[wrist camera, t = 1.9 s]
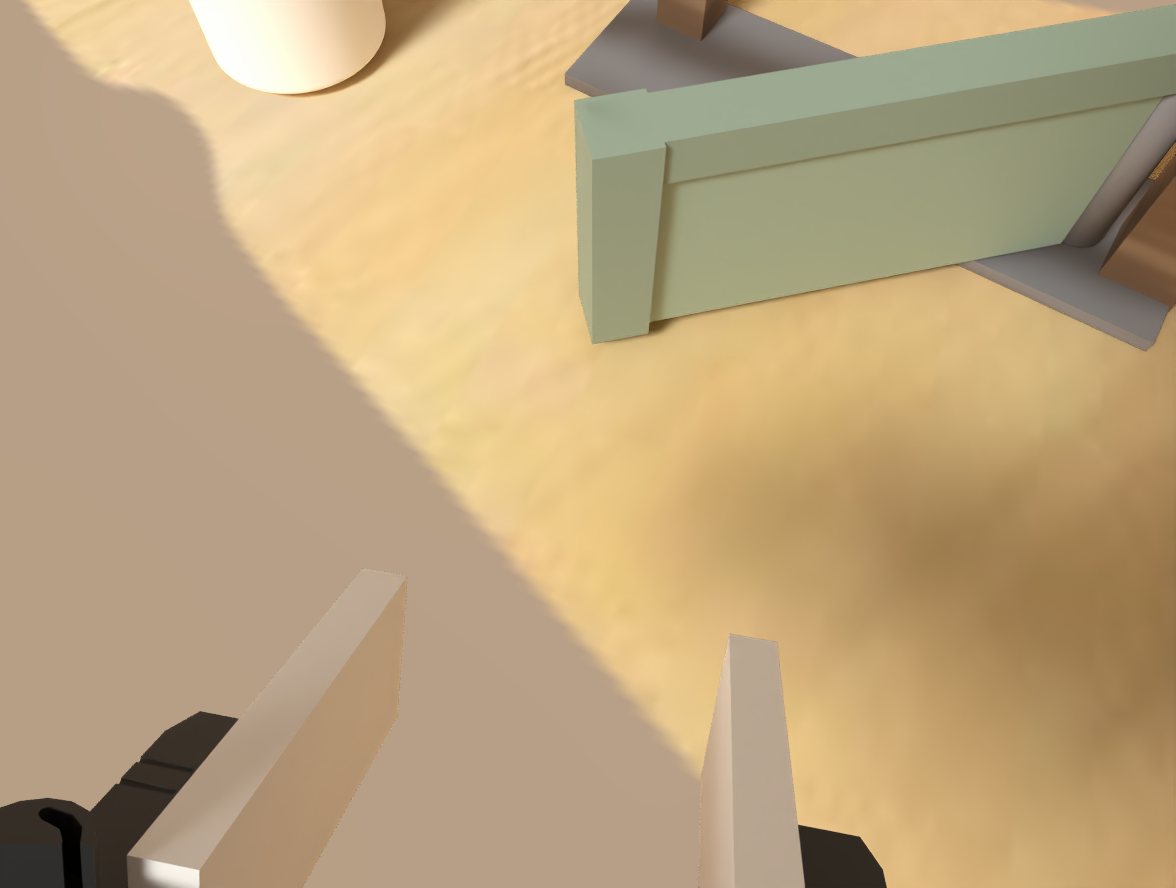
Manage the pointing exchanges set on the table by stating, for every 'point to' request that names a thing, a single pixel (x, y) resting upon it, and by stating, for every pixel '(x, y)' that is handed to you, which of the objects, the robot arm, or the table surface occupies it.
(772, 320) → the table surface
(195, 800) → the robot arm
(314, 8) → the white cylinder
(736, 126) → the gate
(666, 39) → the gate frame
